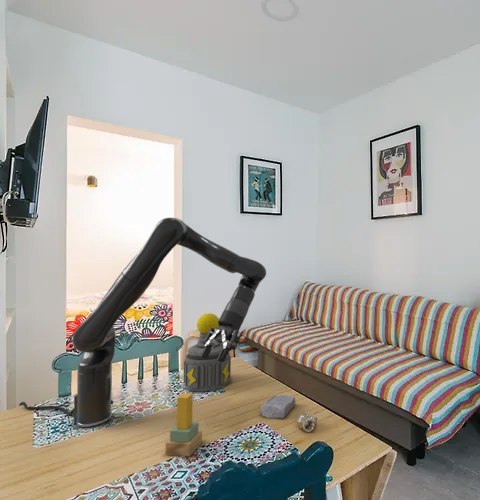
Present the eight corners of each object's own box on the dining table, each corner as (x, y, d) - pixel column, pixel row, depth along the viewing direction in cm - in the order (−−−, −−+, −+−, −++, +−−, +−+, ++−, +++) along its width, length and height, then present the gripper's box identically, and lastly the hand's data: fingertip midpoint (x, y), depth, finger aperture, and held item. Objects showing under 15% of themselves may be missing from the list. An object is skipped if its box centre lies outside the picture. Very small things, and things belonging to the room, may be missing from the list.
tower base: (165, 455, 98) (165, 442, 98) (179, 441, 105) (179, 429, 105) (189, 456, 98) (189, 444, 98) (202, 442, 105) (202, 430, 105)
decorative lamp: (239, 378, 154) (241, 311, 154) (210, 395, 137) (211, 319, 136) (204, 373, 160) (205, 308, 160) (172, 388, 142) (173, 315, 142)
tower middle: (169, 441, 99) (169, 430, 99) (180, 431, 104) (180, 421, 104) (188, 442, 98) (188, 431, 98) (198, 432, 104) (198, 422, 104)
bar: (176, 428, 100) (177, 397, 100) (182, 423, 103) (182, 393, 103) (186, 429, 100) (187, 398, 100) (192, 424, 103) (192, 393, 103)
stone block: (258, 421, 121) (285, 419, 119) (256, 407, 121) (283, 404, 119) (273, 407, 132) (297, 405, 130) (271, 394, 133) (295, 392, 131)
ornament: (322, 429, 113) (322, 418, 113) (302, 435, 110) (302, 423, 110) (312, 418, 120) (312, 408, 120) (293, 423, 117) (293, 412, 117)
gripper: (213, 308, 121) (188, 353, 113) (241, 309, 114) (217, 357, 105) (228, 318, 126) (205, 362, 117) (255, 320, 119) (234, 367, 110)
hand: (211, 360), depth 111 cm, fingers open, 8 cm apart
